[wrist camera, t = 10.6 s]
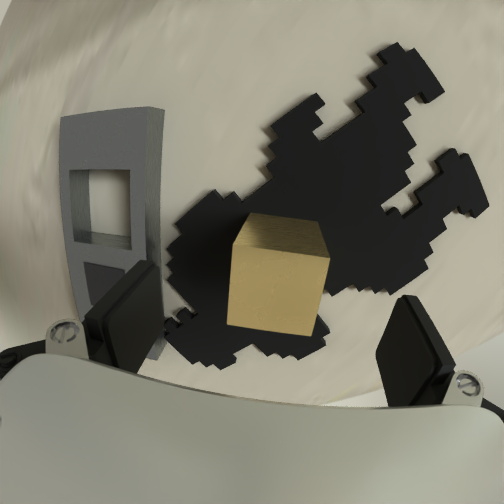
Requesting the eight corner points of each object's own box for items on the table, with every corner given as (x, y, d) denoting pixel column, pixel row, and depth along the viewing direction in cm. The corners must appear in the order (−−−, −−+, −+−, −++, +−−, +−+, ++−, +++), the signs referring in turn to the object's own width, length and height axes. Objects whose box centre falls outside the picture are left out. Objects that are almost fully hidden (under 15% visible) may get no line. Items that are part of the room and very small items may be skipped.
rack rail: (80, 117, 18) (59, 117, 16) (164, 109, 18) (148, 106, 15) (97, 326, 26) (85, 340, 23) (166, 345, 25) (156, 362, 23)
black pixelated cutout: (401, 41, 14) (111, 270, 23) (405, 37, 13) (106, 275, 22) (496, 215, 17) (227, 386, 27) (502, 218, 16) (225, 393, 26)
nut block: (251, 210, 20) (232, 244, 13) (316, 219, 19) (330, 258, 13) (245, 269, 21) (226, 324, 15) (305, 278, 21) (311, 336, 15)
